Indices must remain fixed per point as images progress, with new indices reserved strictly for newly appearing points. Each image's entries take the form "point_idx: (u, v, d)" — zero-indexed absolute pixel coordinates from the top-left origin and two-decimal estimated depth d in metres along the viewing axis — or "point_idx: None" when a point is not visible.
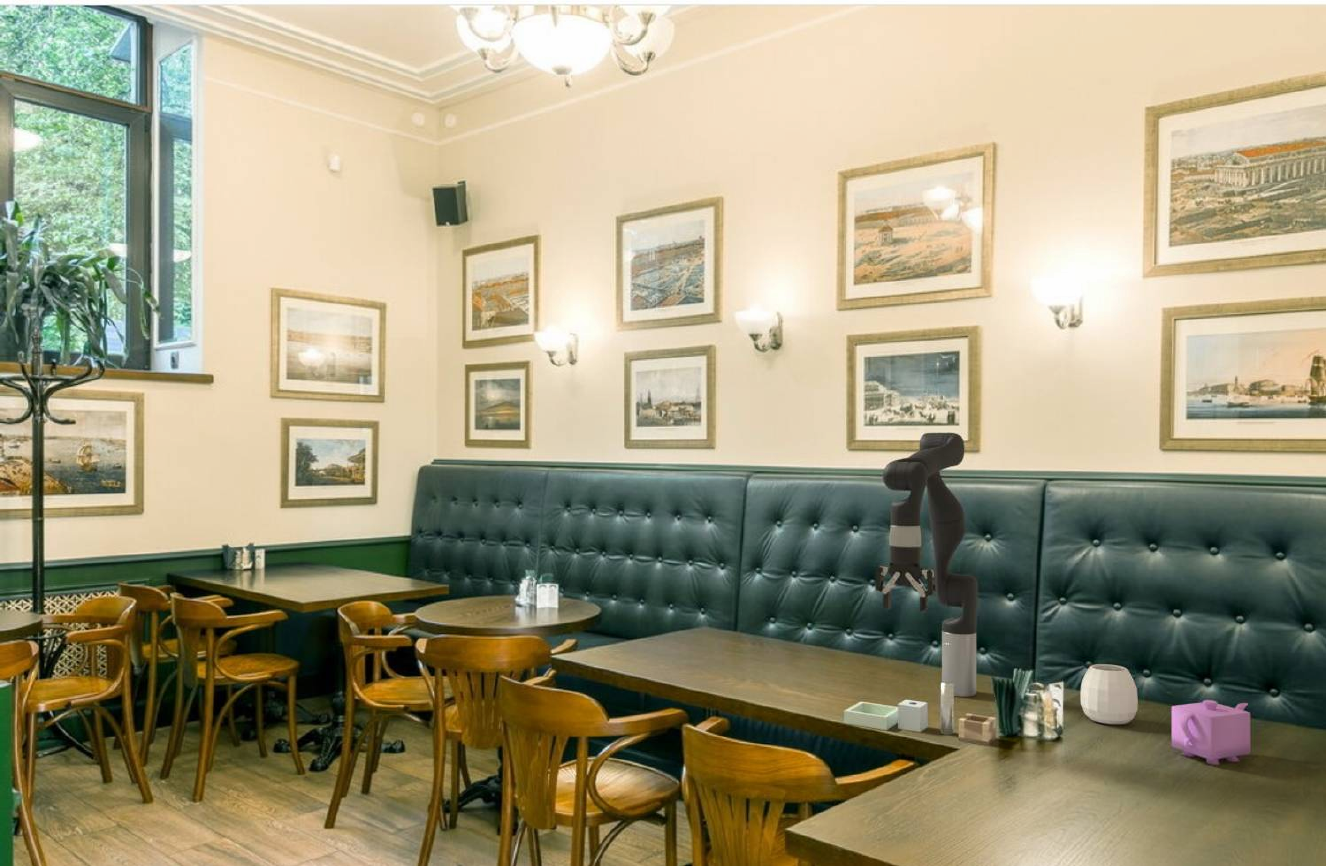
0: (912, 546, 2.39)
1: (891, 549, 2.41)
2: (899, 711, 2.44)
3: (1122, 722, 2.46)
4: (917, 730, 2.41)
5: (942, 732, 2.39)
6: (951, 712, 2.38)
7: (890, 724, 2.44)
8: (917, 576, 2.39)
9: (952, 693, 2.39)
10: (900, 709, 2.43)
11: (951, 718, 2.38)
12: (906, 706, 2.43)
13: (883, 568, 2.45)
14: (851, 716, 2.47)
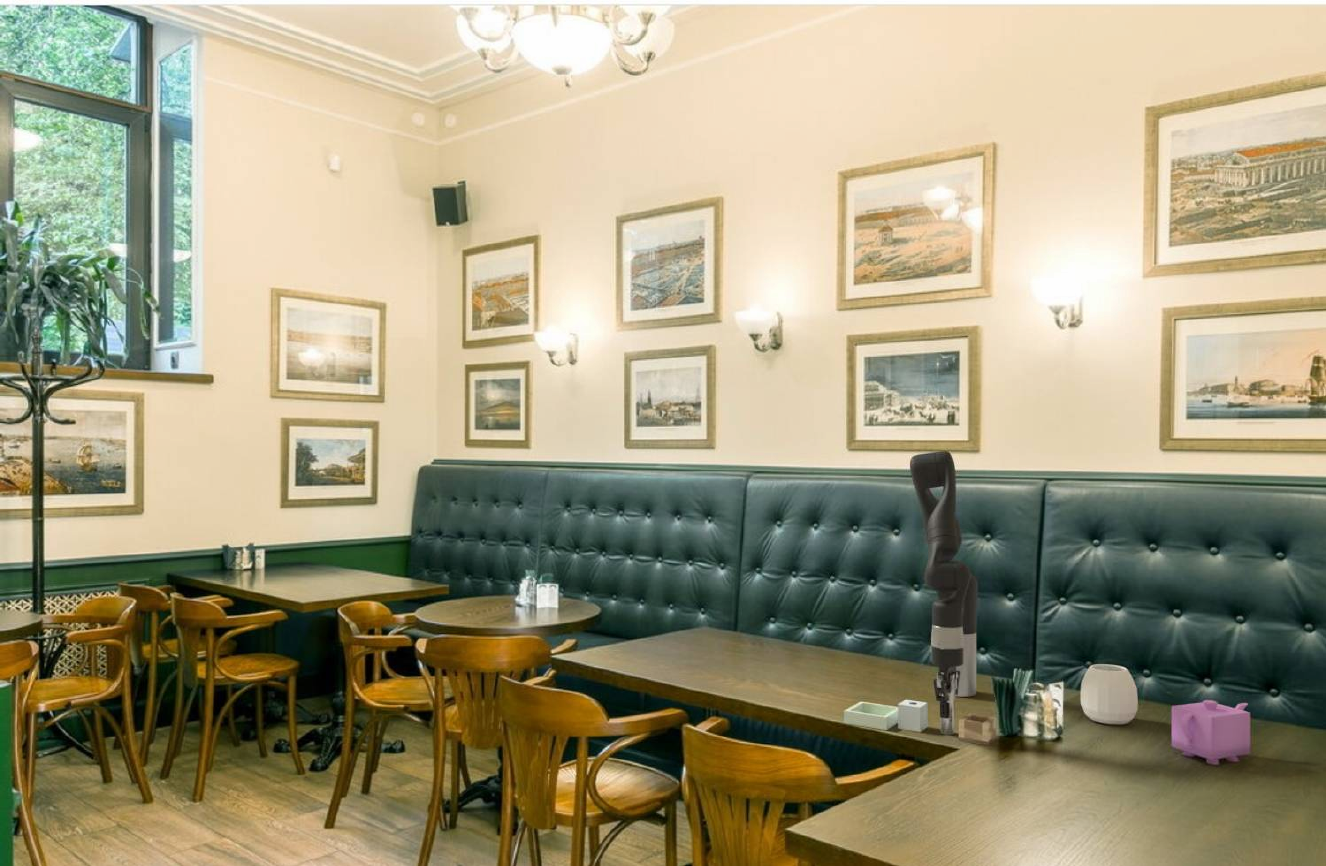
0: None
1: (955, 652, 2.36)
2: (899, 711, 2.44)
3: (1122, 722, 2.46)
4: (917, 730, 2.41)
5: (942, 732, 2.39)
6: (951, 712, 2.38)
7: (890, 724, 2.44)
8: None
9: (952, 693, 2.39)
10: (900, 709, 2.43)
11: (951, 718, 2.38)
12: (906, 706, 2.43)
13: (942, 679, 2.35)
14: (851, 716, 2.47)
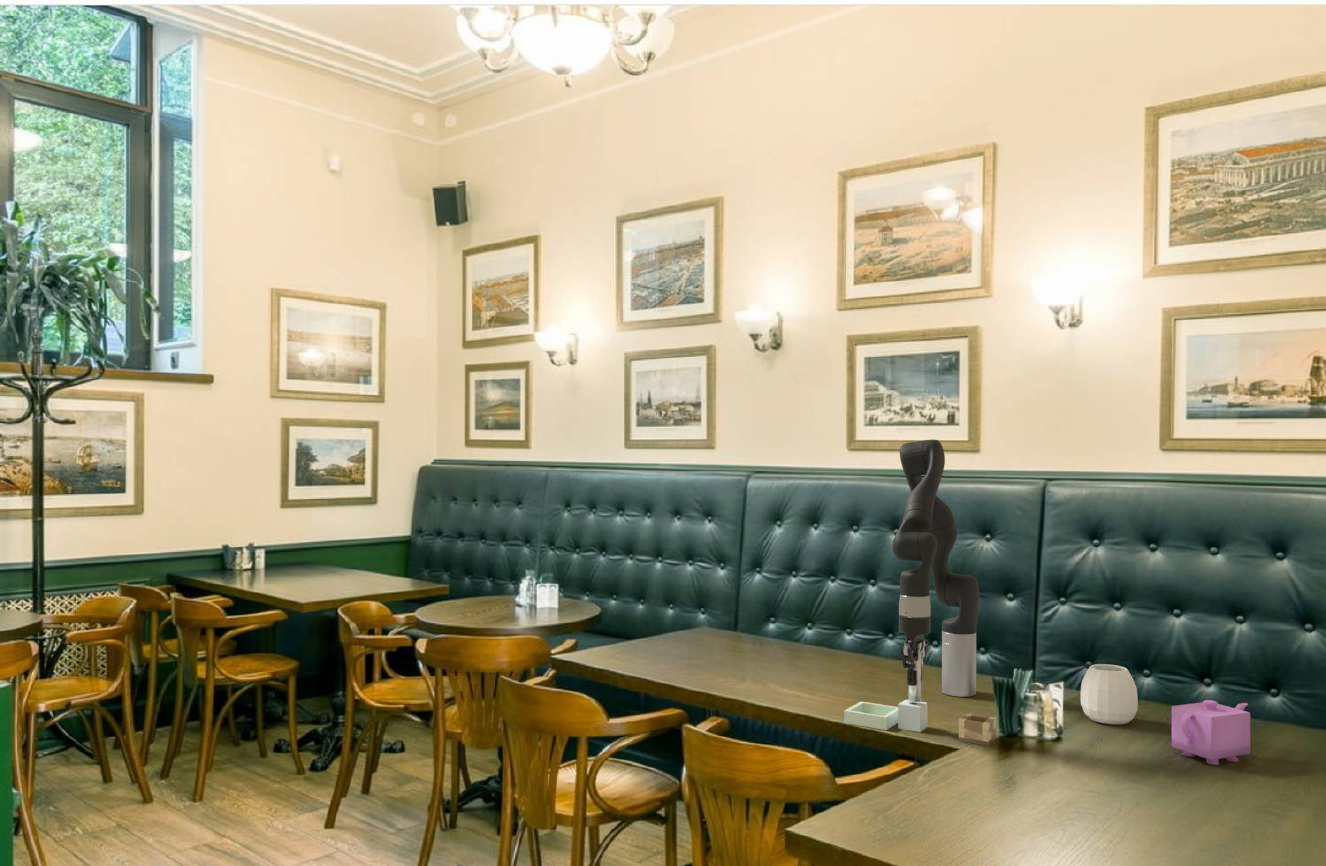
0: None
1: (922, 621, 2.41)
2: (899, 711, 2.44)
3: (1122, 722, 2.46)
4: (917, 730, 2.41)
5: (909, 699, 2.44)
6: (918, 680, 2.43)
7: (890, 724, 2.44)
8: None
9: (919, 661, 2.43)
10: (900, 709, 2.43)
11: (918, 685, 2.43)
12: (906, 706, 2.43)
13: (909, 646, 2.40)
14: (851, 716, 2.47)
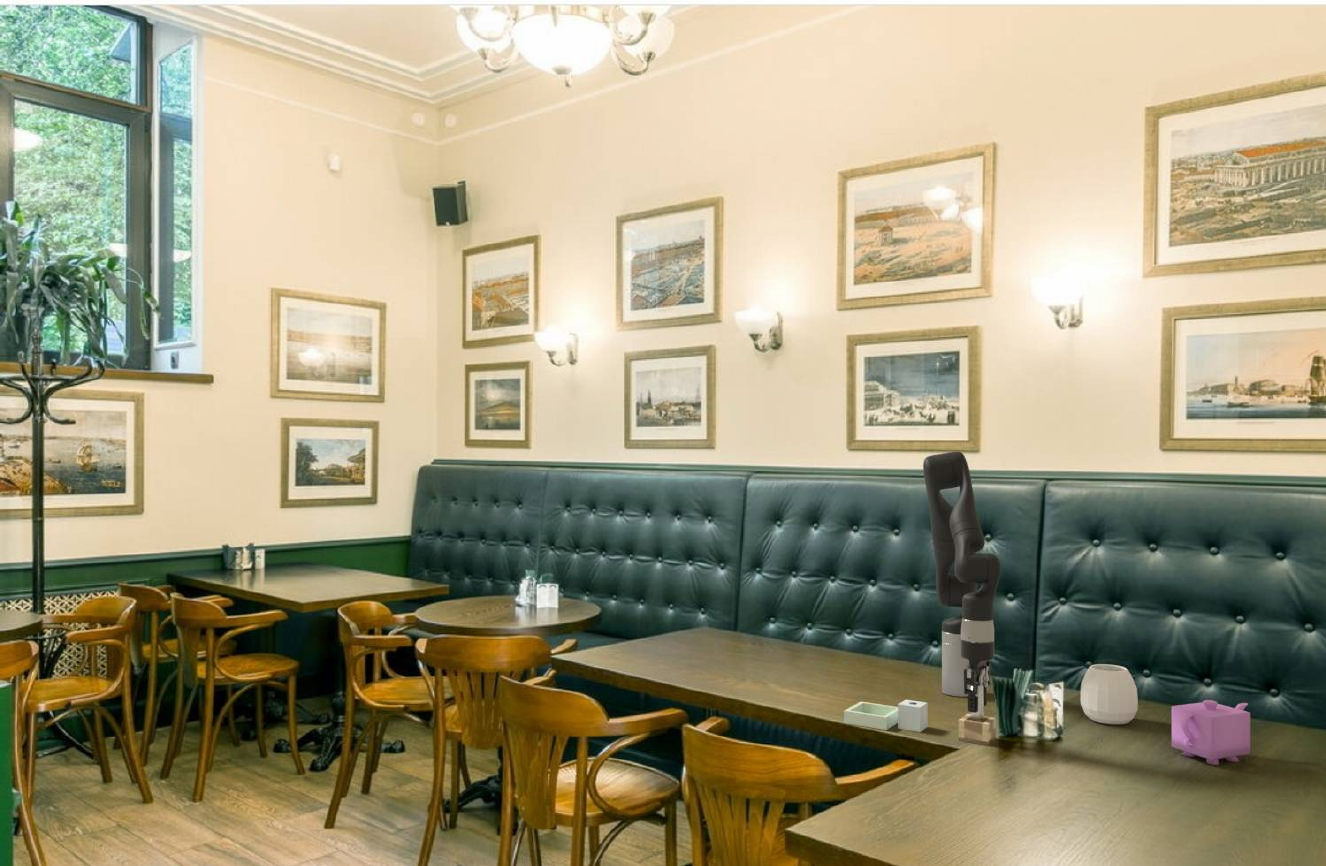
0: None
1: (986, 646, 2.31)
2: (899, 711, 2.44)
3: (1122, 722, 2.46)
4: (917, 730, 2.41)
5: None
6: (981, 714, 2.34)
7: (890, 724, 2.44)
8: None
9: (982, 695, 2.34)
10: (900, 709, 2.43)
11: (981, 720, 2.34)
12: (906, 706, 2.43)
13: (972, 670, 2.30)
14: (851, 716, 2.47)
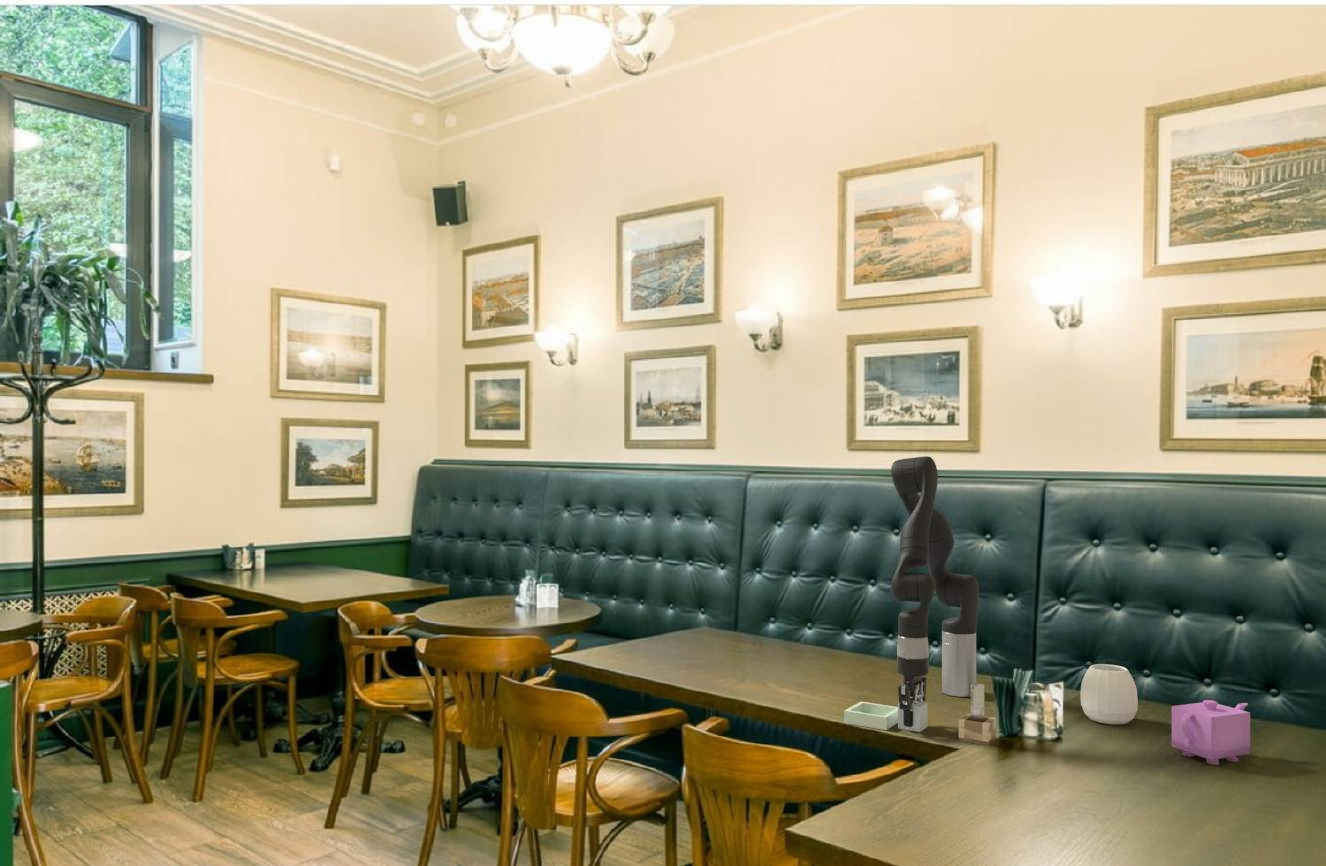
0: None
1: (920, 662, 2.41)
2: (898, 711, 2.44)
3: (1122, 722, 2.46)
4: (917, 730, 2.41)
5: None
6: (982, 714, 2.34)
7: (890, 724, 2.44)
8: None
9: (983, 695, 2.34)
10: (900, 709, 2.43)
11: (982, 720, 2.34)
12: None
13: (906, 686, 2.40)
14: (851, 716, 2.47)
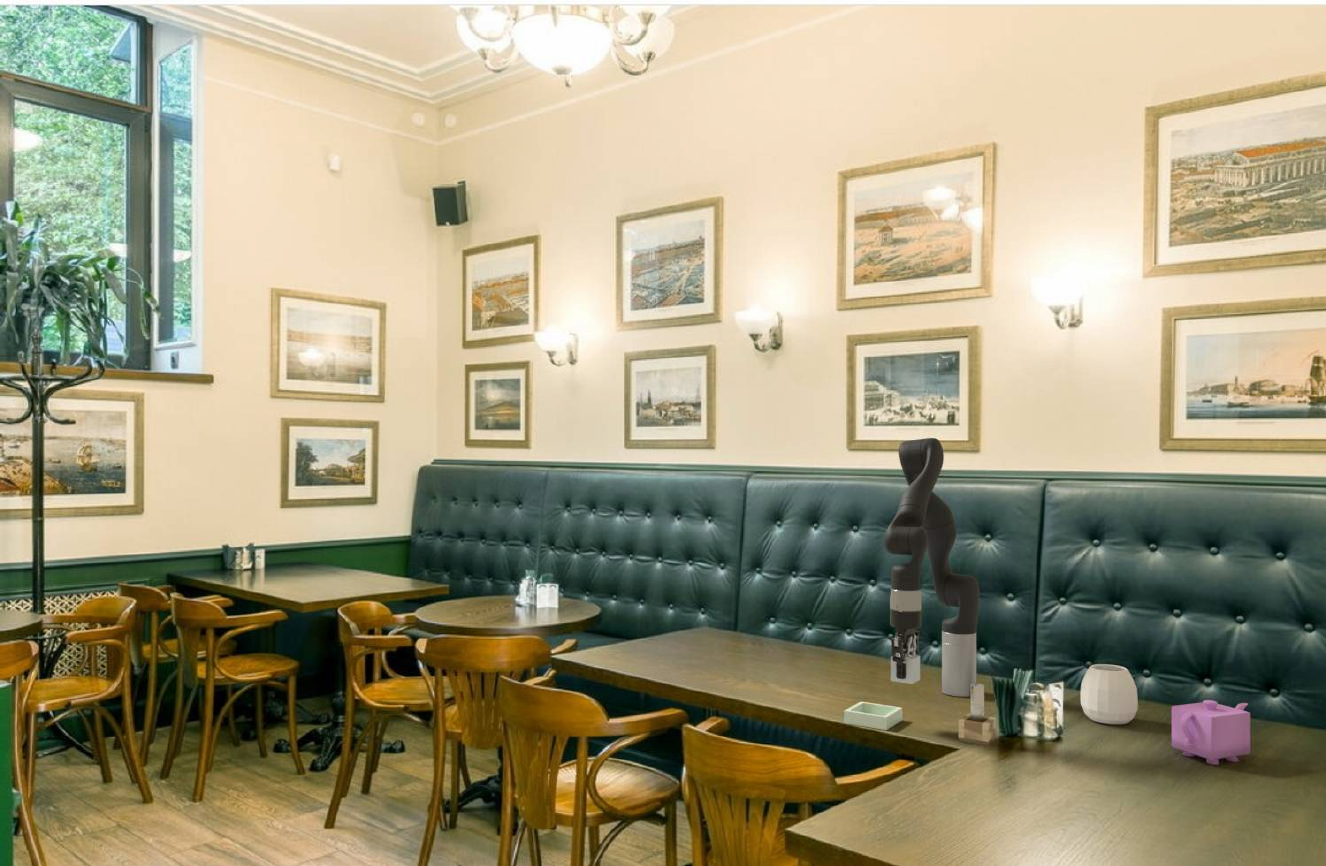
0: None
1: (913, 615, 2.42)
2: (891, 664, 2.45)
3: (1122, 722, 2.46)
4: (910, 682, 2.42)
5: None
6: (981, 714, 2.34)
7: (890, 724, 2.44)
8: None
9: (983, 695, 2.34)
10: (893, 661, 2.44)
11: (981, 720, 2.34)
12: None
13: (899, 638, 2.41)
14: (851, 716, 2.47)
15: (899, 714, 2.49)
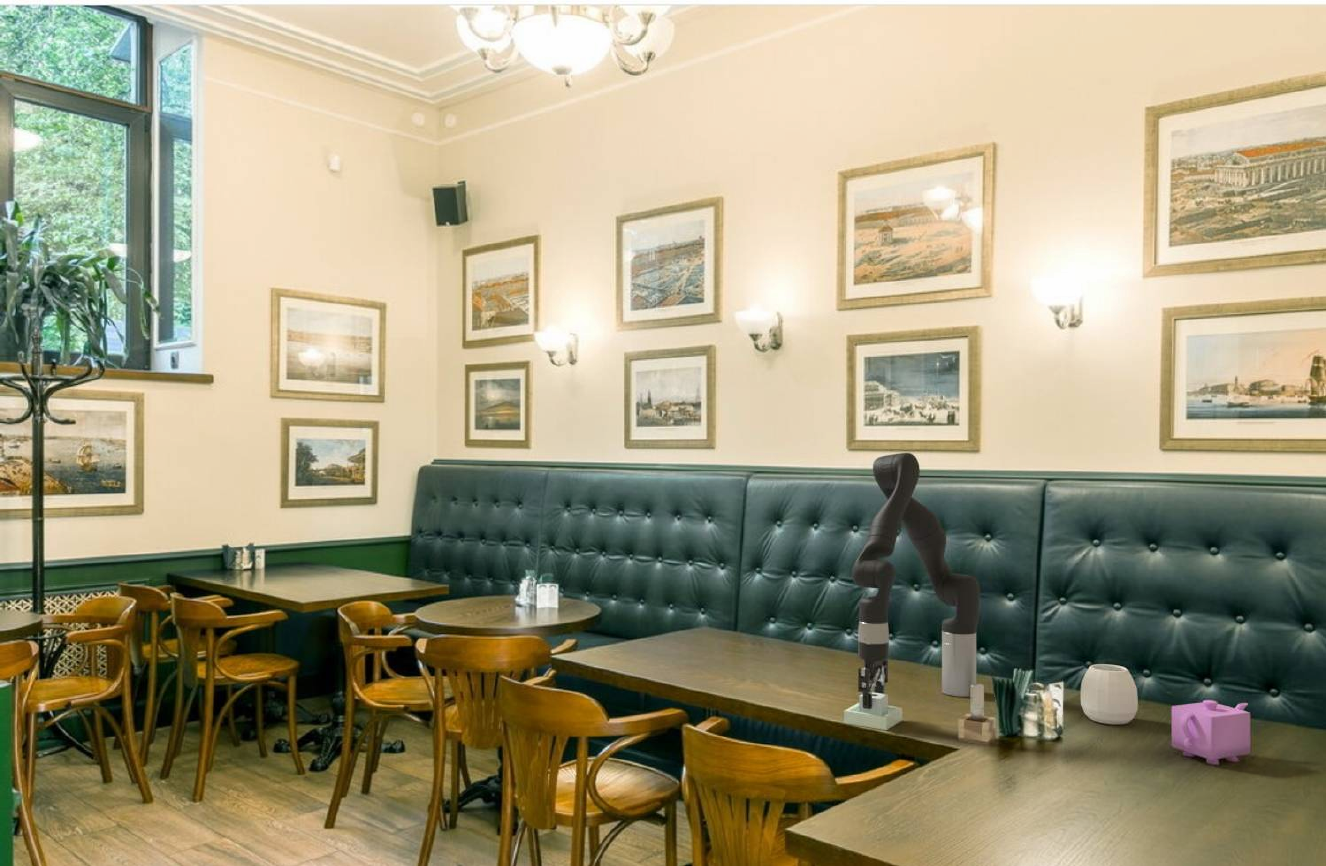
0: None
1: (880, 647, 2.46)
2: (860, 703, 2.49)
3: (1122, 722, 2.46)
4: None
5: None
6: (981, 714, 2.34)
7: (890, 724, 2.44)
8: None
9: (983, 695, 2.34)
10: (861, 701, 2.48)
11: (981, 720, 2.34)
12: None
13: None
14: (851, 716, 2.47)
15: (899, 714, 2.49)
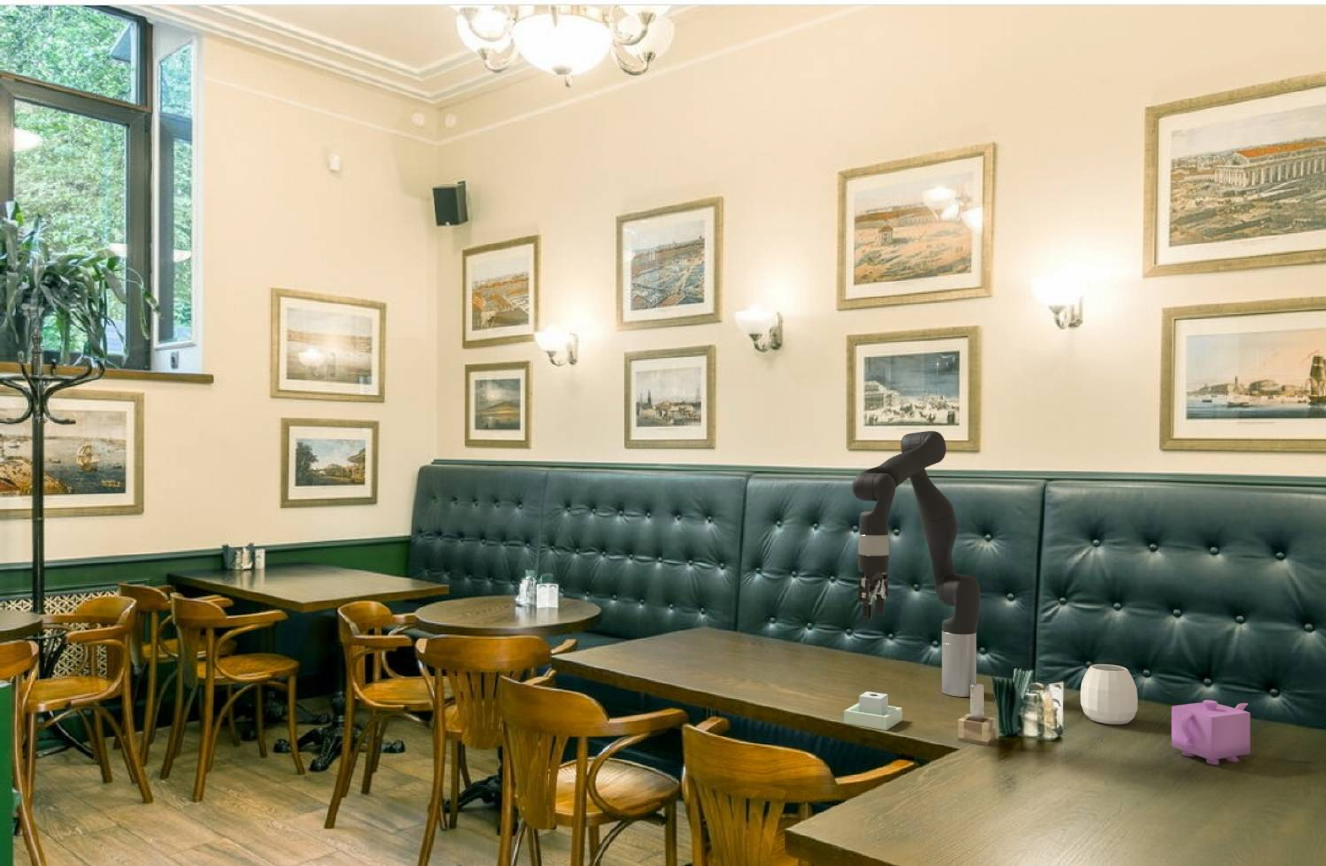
0: None
1: (880, 559, 2.46)
2: (860, 703, 2.49)
3: (1122, 722, 2.46)
4: None
5: None
6: (981, 714, 2.33)
7: (890, 724, 2.44)
8: None
9: (982, 695, 2.34)
10: (861, 701, 2.48)
11: (981, 721, 2.33)
12: (867, 698, 2.48)
13: None
14: (851, 716, 2.47)
15: (899, 714, 2.49)
